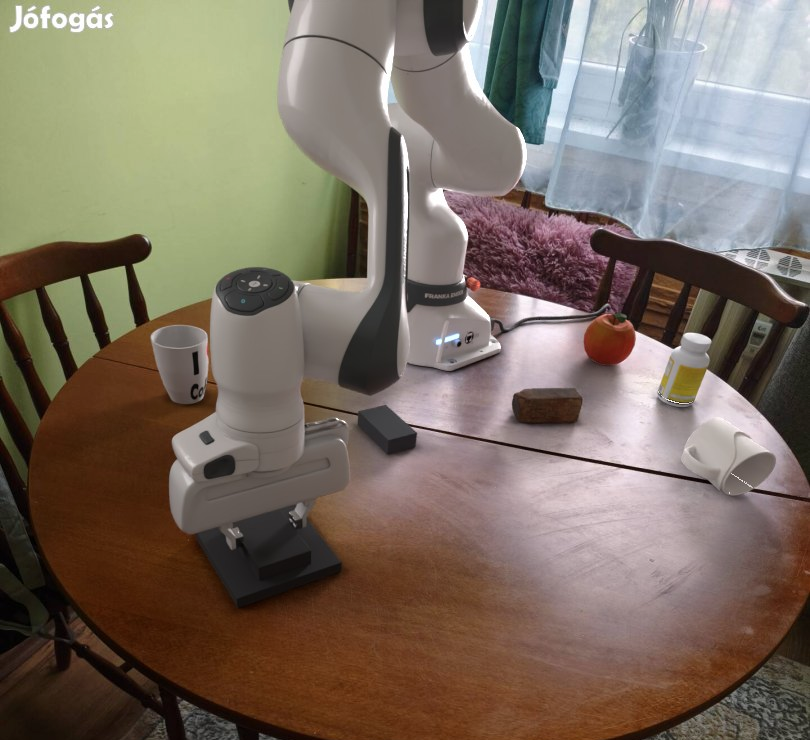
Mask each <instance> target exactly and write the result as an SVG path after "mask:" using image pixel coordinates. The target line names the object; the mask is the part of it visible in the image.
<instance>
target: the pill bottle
mask: <svg viewBox="0 0 810 740" xmlns="http://www.w3.org/2000/svg"><path fill="white" fill-rule="evenodd" d="M682 335H683V336H682V338H681V340H680V345H679V346H677V347H675V348H673V350H672V351H671V353H670V356H669V358H668V361H667V364H666V367H665V369H664V372H663V375H662V378H661V381H660V384H659V387H658V390H657V398H658V399H659V400H660V401H661V402H663V403H665V405H666V404H667V405H669V406H672V407H677V408H686V407H689V406H692V405H693V404H694V402H695V400H696V397H697V395H698V392H699V390H700V387H701V384H702V383H703V380H704V378H705V375H706V373H707V370H708V367H709V365H710V362H711V359H710V356H709V354H708V353H707V352H708V351H709V350H710V348H711V345H712V339H711V338H709V337H708V336H707V335H704V334H701V333H697V332H686V333H684V334H682ZM658 391H659V393H660V394H659V393H658ZM661 395H662V396H663V397H664V398H663V397H662V396H661ZM665 398H666V399H669V400H672V401H675V402H679V403H689V402H692V401H693V402H692V403H689V404H679V403H674V402H671V401H668V400H666V399H665Z"/></svg>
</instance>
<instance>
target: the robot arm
mask: <svg viewBox="0 0 810 740" xmlns="http://www.w3.org/2000/svg"><path fill="white" fill-rule="evenodd" d="M287 3H288V10H289V17H288V18H289V19H288V22H287V26H286V31H285V36H284V41H283V46H282V52H281V57H280V63H279V70H278V76H277V86H276V87H277V90H276V104H277V105H276V106H277V111H278V115H279V119H280V121H281V124H282V127H283V129H284V131H285V132H286V134H287V136H288V137H289V139H290V140H291V142H292V143H293V144H294V145H295V147H296V148H297V149H298V150H299V151H300V152H301V153H302V154H303V155H304V156H305V157H306V158H307V159H308V160H309V161H310V162H312V163H313V164H315V165H316V166H317V167H318V168H320V169H322V170H323V171H325V172H326V173H328V174H330V175H332V176H333V177H335V178H336V179H338V180H340V181H341V182H343V183H344V184H346V185H347V186H348V187H349V188H351V189H353V190H354V191H355V192H357V194H359V195H360V196H361V197H362V198H363V200H364V201H365V202H366V205H367V211H368V213H367V216H368V220H367V221H368V222H367V223H368V224H367V225H368V226H367V270H366V271H367V272H366V285H365V287H364V288H363V289H362V290H360V291H348V290H344V289H340V288H339V289H338V288H332V287H327V286H322V285H316V284H312V283H310V282H304V281H300V280H294V279H292V278H291V277H289V276H288V275H287V274H285V273H284V272H282V271H280V270H278V269H274V268H270V267H264V266H263V267H262V266H250V267H244V268H239V269H236V270H233V271H230V272H229V273H227V274H226V275H224V276H222V277H221V278H220V279H219V280H218V281H217V282H216V284H215V285H214V288H213V293H212V296H211V303H210V304H211V305H210V316H209V317H210V318H209V322H210V323H209V349H210V363H211V373H212V376H213V380H214V382H215V384H216V388H217V399H216V401H215V402H216V403H215V412H213V413H211V414H210V415H209V416H206V417H205V418H203V419H202V420H200V421H199V422H196V423H194V424H193V425H191V426H189V427H188V428H186V429H184V430H182V431H180V432H178V433H176V434H175V435H174V436H173V437H172V439H171V446H172V450H173V452H174V456H175V457H176V460H175V461H174V462H173V464H172V465H171V467H170V471H169V475H168V476H169V477H168V495H169V498H168V499H169V507H170V513H171V515H172V518H173V520H174V522H175V524H176V526H177V527H178V529H179V530H180V531H182V532H183V533H185V534H186V535H189V536H191V535H196V533H199V532H202V531H206V530H209V529H213V528H216V527H219V529H220V531H221V532H222V533H223V534H224V535H225V536H226V541H227V544H228V545H229V547H230V549H231V550H233V549H237V548H240V547H243V546H244V543H243V541H244V537H243V535H242V533H241V532H240V530H239V529H238V527H236V528H233V522H237V521H240V520H243V519H247V518H250V517H254V516H257V515H261V514H264V513H267V512H271V511H274V510H278V509H281V508H285V507H288V506H291V505H295V504H296V505H297V506H296V508H295V510H293V511H290V512H289V517H290V518H289V522H290V524H291V525H292V526H293V528H294V529H295V530H297V529H301V528H304V527H306V518H308V517H309V514H310V513H311V511H312V510H313V509H314V507H315V505H316V499H319V498H321V497H325V496H329V495H332V494H336V493H339V492H342V491H344V490H345V489H346V488H347V486H348V485H349V484H350V481H351V469H350V468H351V467H350V459H349V452H348V447H347V446H348V445H349V440H350V428H349V424H347V422H346V421H345V420H342V419H338V418H337V417H327V418H325V419H323V420H316V421H309V422H305V403H304V400H303V397H302V393H301V392H302V391H301V387H302V383H303V380H304V379H305V380H309V381H310V380H311V381H316V382H321V383H324V384H325V383H326V384H330V385H334V386H335V385H337V386H339V387H340V388H342V389H346V390H350V391H353V392H356V393H358V394H363V395H366V396H374V395H377V394H379V393H381V392H383V391H385V390H387V389H388V388H390V387H391V386H393V385H394V384H396V383H397V382H398V381H400V380H401V379H402V378H403V374H404V371H405V370H406V368H407V364H410V365H415V366H419V367H420V366H421V367H430V368H435V369H439V370H441V371H446V372H451V371H455V370H457V369H460V368H462V367H466V366H468V365H471V364H474V363H476V362H478V361H481V360H484V359H486V358H490V357H492V356H494V355H498V354H500V353H501V343H500V342H499V340H498V339H496V337H494V336H493V335H492V331H494V327H495V324H497V325H498V327H499V330H500V331H501V332H503V333H507V332H510V331H512V330H514V329H517V328H518V327H519V326H520V325H522V324H524V323H527V322H534V321H562V320H565V321H566V320H580V319H588V318H595V317H597V316H600V315H602V313H604V311H605V310H606V309H607V310H608V311H611V310H612V308H611V305H610V304H608V303H605V304H604V305H603V306H602V307H601V308H600V309H599V310H598V311H595V312H590V313H585V314H573V315H572V314H571V315H560V316H559V315H547V316H545V315H542V316H541V315H540V316H530V317H525V318H522V319H520V320H518V321H517V322H515V323H514V324H513V325H511V326H510V327H504V324H503V322H502V320H501V319H498V318H496V317H495V318H494V317H492V316H490V315H489V314H487V312H486V311H485V310H484V309H483V308H482V306H480V305H479V304H478V303H477V302H476V301H475V300H474V299H472V297H470V295H469V293H468V289H469V290H470V291H472V292H474V293H476V292H478V291H479V290H480V288H481V282H480V281H479V280H478V279H475V278H474V277H468V276H467V275H465V274H464V268H465V262H466V255H467V247H468V243H469V235H468V229H467V227H466V225H465V223H464V221H463V220H462V218H461V217H460V216H459V215H458V214H457V213H456V212H454V211H453V210H452V209H451V208H450V206H449V205H448V203H447V201H446V199H445V195H444V192H443V190H445V191H449V192H453V193H458V194H462V195H467V196H472V197H486V198H487V197H488V198H489V197H504V196H506V195H507V194H508V193H510V192H511V191H512V190H513V189H514V188H515V187H516V186H517V184H518V183H519V181H520V179H521V178H522V176H523V173H524V170H525V168H526V167H525V166H526V161H527V147H526V142H525V139H524V136H523V133H522V132H521V130H520V128H519V127H517V126H516V125H514V124H513V123H512V122H510V121H509V120H507V119H506V118H505V117H504V116H503V115H502V114H501V113H500V112H499V111H498V110H497V109H496V108H495V106H494V105H493V104H492V103H491V101H490V100H489V98H488V97H487V95H486V94H485V92H484V91H483V89H482V88H481V86H480V84H479V82H478V80H477V78H476V76H475V73H474V68H473V64H472V59H471V53H470V47H469V42H471V41H472V39H473V38H474V36H475V33H476V31H477V27H478V22H479V20H480V16H481V12H482V7H483V0H287ZM390 82H391V83H390ZM390 84H391V86H392V90H393V91H392V92H393V94H394V98H395V99H396V102H392V103H391V102H390V103H388V93H389V86H390ZM231 528H232V529H231Z"/></svg>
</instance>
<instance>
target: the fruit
mask: <svg viewBox="0 0 810 740" xmlns="http://www.w3.org/2000/svg"><path fill="white" fill-rule="evenodd" d="M636 340H637V336H636V330H635V328H634V325H633V323H632V322H631V321H630V320H627V315H626V314H624V313H621V312H619V313H618V312H617V311H616V312H614V313H612V314H611V313H605V314H600V315H598V317H597V316H596V318H595V319H593V320H592V322H591V323H590V324H589V325H588V327H587V328H586V330H585V332H584V335H583V342H582V343H583V347H584V348H583V349H584V352H585V354H586V356H587V357H588V358H589V359H590V360H591V361H593V362H594V363H596V364H599V365H602V366H614V365H619V364H620V363H622V362H624V361H625V360H627V359H628V357H629V356H630V355H631V354H632V352H633V350H634V348H635V345H636Z"/></svg>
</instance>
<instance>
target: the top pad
mask: <svg viewBox="0 0 810 740" xmlns="http://www.w3.org/2000/svg"><path fill="white" fill-rule="evenodd" d="M356 425H357V426H358V428H360V429H361V431H363V432H364V433H365V434H366V435H367V436H368V437H369V438H370V439H371V440H372V441H373V443H375V444H376V445H377V446H378V447H379V448H380V449H381V450H382V451H383V452H384V453H385V454H386V455H392V454H394V453H398V452H402V451H405V450H409V449H414V448H416V445H417V437H418V432H417V430H415V429H414V428H413V427H411V426H410V425H409V424H408V423H407V422H406V421H405V420H404V419H402V417H400V416H399V415H398V414H397V413H396V412H395V411H393V409H392V408H390V407H389V406H388V405H387V404H383V405H382V404H381V405H379V406H374V407H370V408H366V409H361V410H358V411H357V424H356Z"/></svg>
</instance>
